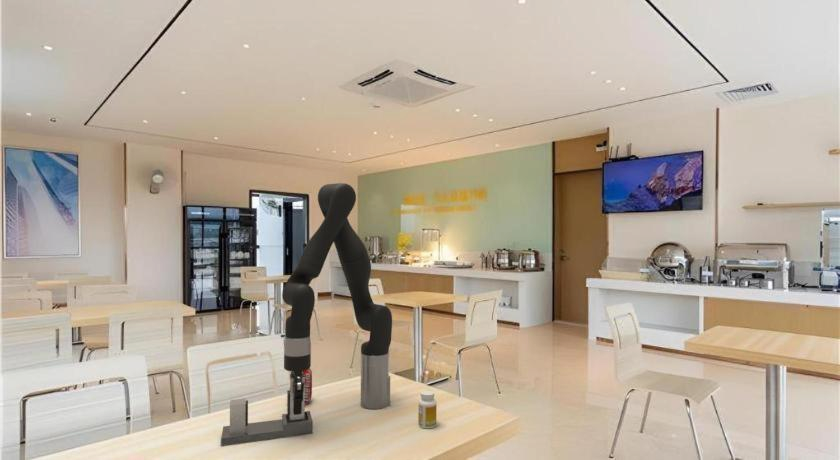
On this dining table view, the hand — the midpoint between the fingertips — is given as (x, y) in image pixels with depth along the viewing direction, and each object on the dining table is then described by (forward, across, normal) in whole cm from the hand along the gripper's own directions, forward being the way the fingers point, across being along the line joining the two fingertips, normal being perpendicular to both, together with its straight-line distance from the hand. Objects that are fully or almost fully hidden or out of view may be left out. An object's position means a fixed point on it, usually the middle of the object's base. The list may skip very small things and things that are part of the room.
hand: (296, 410), depth 135 cm
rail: (+6, 0, +8) cm, 10 cm away
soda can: (+6, +21, -3) cm, 22 cm away
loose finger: (+2, 0, 0) cm, 2 cm away
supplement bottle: (+6, -9, -37) cm, 39 cm away
